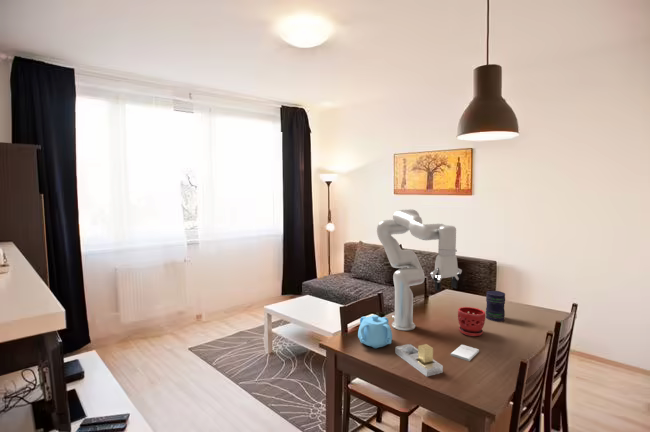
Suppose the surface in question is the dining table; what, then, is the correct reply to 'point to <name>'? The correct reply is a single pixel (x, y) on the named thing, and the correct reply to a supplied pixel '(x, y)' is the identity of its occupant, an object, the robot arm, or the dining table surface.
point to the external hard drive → (465, 352)
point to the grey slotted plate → (413, 360)
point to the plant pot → (471, 321)
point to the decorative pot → (374, 331)
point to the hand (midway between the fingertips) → (446, 289)
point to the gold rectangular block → (425, 354)
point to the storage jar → (495, 306)
